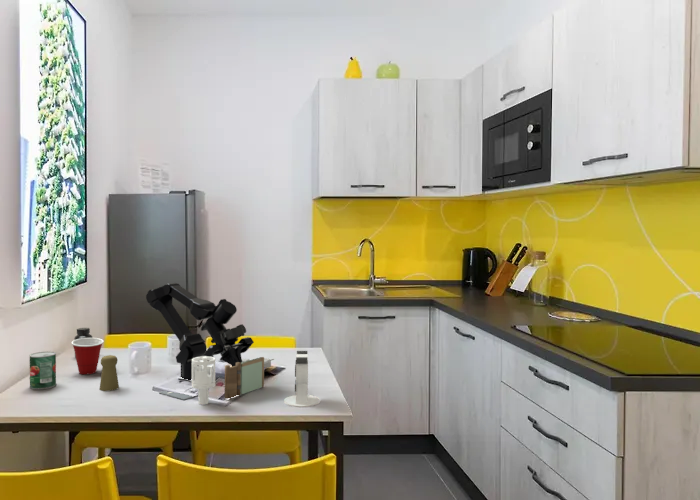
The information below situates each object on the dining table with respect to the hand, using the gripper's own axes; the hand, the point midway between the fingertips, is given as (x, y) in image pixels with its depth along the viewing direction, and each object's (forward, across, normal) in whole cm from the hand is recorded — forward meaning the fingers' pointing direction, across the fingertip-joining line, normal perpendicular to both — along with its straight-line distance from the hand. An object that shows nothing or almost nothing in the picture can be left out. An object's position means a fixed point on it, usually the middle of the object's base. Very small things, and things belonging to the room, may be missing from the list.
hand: (242, 369), depth 189 cm
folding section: (+7, +2, +3) cm, 8 cm away
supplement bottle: (-55, -4, +65) cm, 85 cm away
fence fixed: (+7, -7, +3) cm, 11 cm away
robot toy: (-6, +20, +16) cm, 27 cm away
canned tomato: (-36, -36, +46) cm, 68 cm away
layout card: (-4, -14, +14) cm, 20 cm away
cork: (-22, -24, +32) cm, 45 cm away
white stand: (+22, +3, -11) cm, 24 cm away
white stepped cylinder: (+5, -17, +5) cm, 18 cm away
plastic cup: (-38, -17, +49) cm, 64 cm away
